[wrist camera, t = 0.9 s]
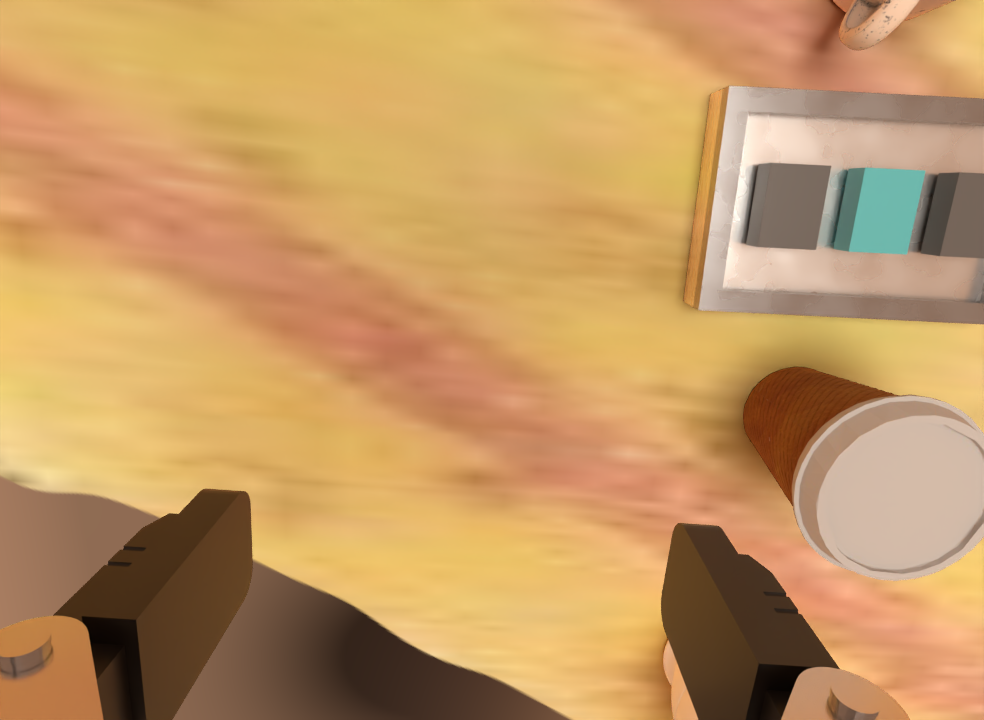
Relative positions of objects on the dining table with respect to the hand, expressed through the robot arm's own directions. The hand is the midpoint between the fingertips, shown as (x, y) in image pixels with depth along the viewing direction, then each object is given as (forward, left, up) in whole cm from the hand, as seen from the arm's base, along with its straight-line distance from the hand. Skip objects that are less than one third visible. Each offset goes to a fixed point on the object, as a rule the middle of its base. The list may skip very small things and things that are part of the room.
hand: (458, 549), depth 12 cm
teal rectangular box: (-7, +21, -25) cm, 33 cm away
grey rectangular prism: (-7, +16, -25) cm, 30 cm away
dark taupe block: (-7, +26, -25) cm, 37 cm away
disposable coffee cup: (+6, +20, -28) cm, 35 cm away
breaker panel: (-7, +21, -28) cm, 36 cm away
